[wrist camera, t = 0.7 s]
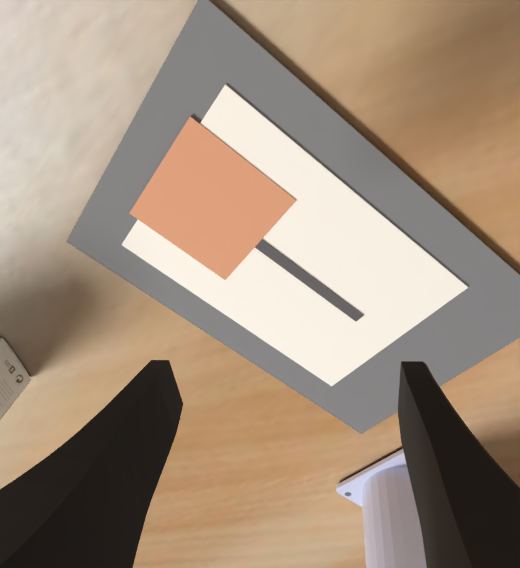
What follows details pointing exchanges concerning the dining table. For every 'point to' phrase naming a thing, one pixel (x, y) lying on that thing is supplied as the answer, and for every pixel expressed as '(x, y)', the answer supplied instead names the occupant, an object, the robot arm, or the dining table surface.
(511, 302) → the mat
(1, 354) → the skincare box
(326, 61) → the dining table surface
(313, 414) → the dining table surface
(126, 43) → the dining table surface
